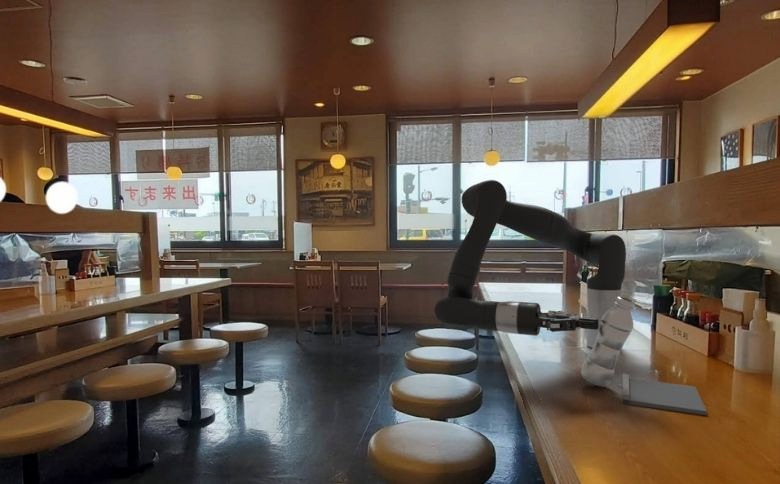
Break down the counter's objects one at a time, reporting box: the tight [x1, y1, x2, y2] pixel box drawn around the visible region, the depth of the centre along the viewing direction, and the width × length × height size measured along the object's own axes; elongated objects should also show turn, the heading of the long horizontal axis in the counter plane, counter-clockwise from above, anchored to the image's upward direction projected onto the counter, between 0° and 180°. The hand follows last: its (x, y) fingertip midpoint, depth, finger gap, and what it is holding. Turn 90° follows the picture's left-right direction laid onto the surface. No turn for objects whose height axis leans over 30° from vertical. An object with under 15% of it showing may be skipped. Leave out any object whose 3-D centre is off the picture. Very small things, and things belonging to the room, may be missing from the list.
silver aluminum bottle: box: [580, 295, 636, 388], centre depth 101 cm, size 6×7×20 cm
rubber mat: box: [622, 372, 708, 416], centre depth 96 cm, size 15×14×2 cm
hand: (598, 324), depth 102 cm, fingers closed
